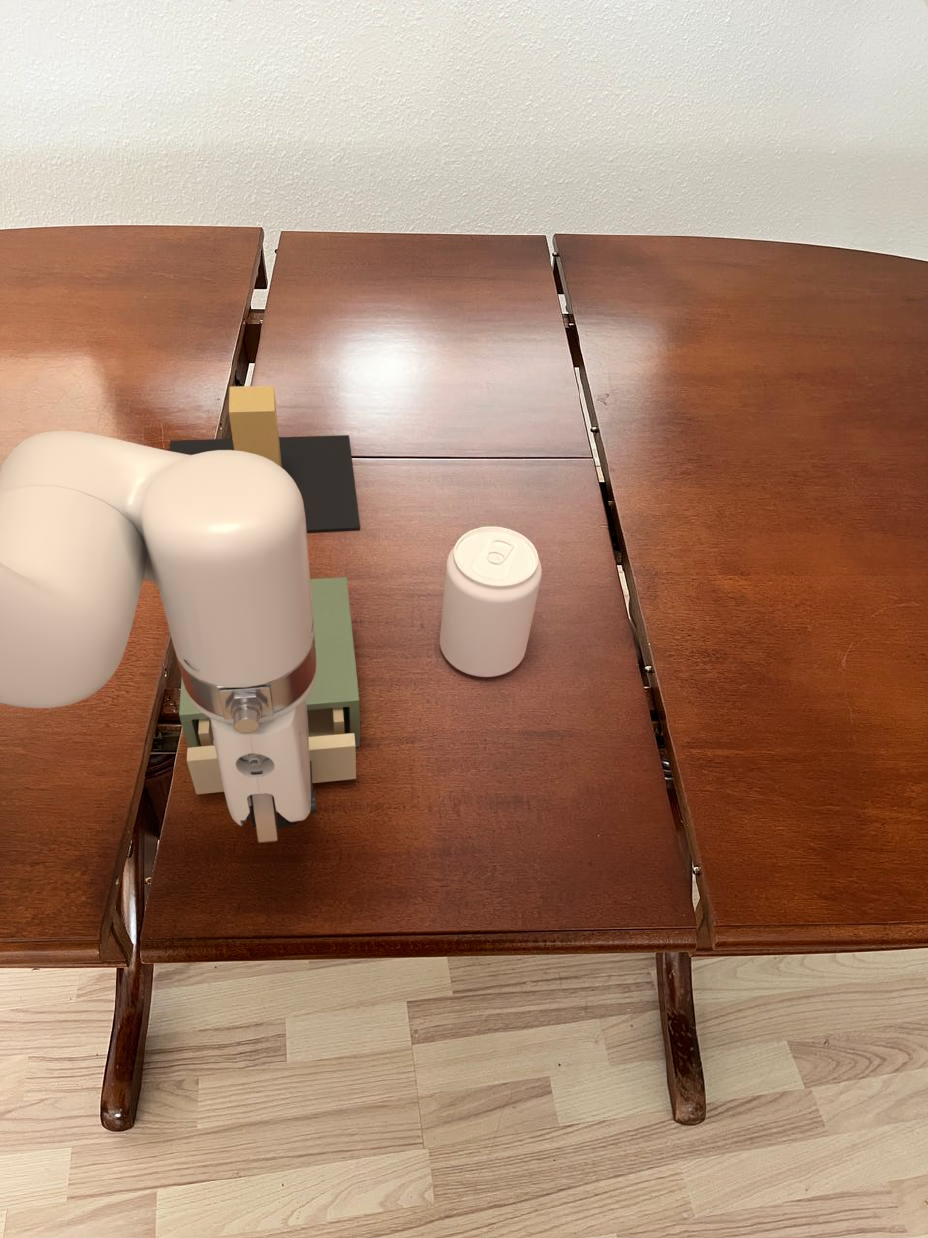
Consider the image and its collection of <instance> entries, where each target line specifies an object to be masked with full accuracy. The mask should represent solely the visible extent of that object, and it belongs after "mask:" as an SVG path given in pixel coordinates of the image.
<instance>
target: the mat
mask: <svg viewBox="0 0 928 1238" xmlns="http://www.w3.org/2000/svg"><path fill="white" fill-rule="evenodd" d="M279 443H280V454H281V464H282V468H283V469H284V470H285V471H286V472H287V473H288V474H289V475H290V476H291V478H292V479H293V480H294V482H295V483H296V485H297V487H298V489H299V491H300V493H301V496H302V499H303V504H304V511H305V518H306V531H307V534H309V533H325V532H326V533H328V532H348V531H349V532H350V531H360V530H361V523H360V515H359V506H358V498H357V491H356V482H355V475H354V464H353V457H352V449H351V441H350V435H349V434H345V435H340V434H339V435H312V436H311V435H310V436H309V435H308V436H305V435H304V436H279ZM216 450H234V445H233V438H209V439H205V438H204V439H176V440H175V439H174V440H173V439H171V440H170V441H169V450H168V451H172V452H177V453H182V454H187V455H194V454H199V453H203V452H207V451H216Z"/></svg>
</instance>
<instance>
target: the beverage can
mask: <svg viewBox="0 0 928 1238" xmlns="http://www.w3.org/2000/svg"><path fill="white" fill-rule="evenodd" d="M542 568H543V567H542V563H541V560H540V558H539V554H538V551H537V549H536V547H535V545H534V544H533V542H531V540H530V539H528V538H527V536H525V535H523V534H521V533H520V532H518V531H516V530H513V529H510V528H508V527H507V528H506V527H503V526H492V525H491V526H481V527H477V528H474V529H471V530H469V531H467V532H465V533H464V534H463V535H461V536H460V537H459V539H458V540H457V541H456V543H455V545H454V546H453V547H452V549H451V550H450V551H449V554H448V556H447V559H446V566H445V576H444V586H443V588H444V589H443V597H442V598H443V599H442V610H441V619H440V631H439V632H440V633H439V647H440V650H441V653H442V654H443V656H444V658H445V659H446V660H447V661H448V663H449V664H450V665H451V666H453V667H454V668H455V669H457V670H459V671H460V672H462V673H465V674H467V675H471V676H473V677H480V678H492V677H493V678H494V677H499V676H502V675H505V674H507V673H509V672H511V671H513V670H514V669H515V668H517V667H518V666H519V665H520V663H521V662H522V661H523V659H524V657H525V655H526V650H527V646H528V644H529V643H528V642H529V638H530V633H531V628H532V623H533V618H534V614H535V609H536V604H537V599H538V595H539V589H540V586H541V581H542V575H543V570H542Z"/></svg>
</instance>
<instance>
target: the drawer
mask: <svg viewBox="0 0 928 1238" xmlns="http://www.w3.org/2000/svg"><path fill="white" fill-rule="evenodd" d="M307 716H308V734H309V756H310V783H311V810H310V813H309V814H315V813H318V807H317V806H318V805H317V792H316V791H314V784H318V783H328V782H337V781H348V780H349V781H350V780H357V752H356V751H357V750H356V749H357V747H356V745H355V735H354V733H349V734H344V715H343V707H339V708H327V709H315V710H307ZM198 734H199V738H200V742H201V746H202V747H190V748H188V747H187V750H186V764H187V767H188V771H189V774H190V778H191V781H192V784H193V788H194V790H195V794H196V795H204V794H205V795H206V794H214V793H224V788H223V784H222V779H221V775H220V770H219V765H218V760H217V754H216V749H215V746H214V744H213V741H214V738H213V732H212V727H211V721H210V718H206V719H199V729H198ZM249 820H251V816H250V813H249V814H248V816H247V821H249Z"/></svg>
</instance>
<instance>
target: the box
mask: <svg viewBox="0 0 928 1238" xmlns="http://www.w3.org/2000/svg"><path fill="white" fill-rule="evenodd" d="M228 388H229V390H228V391H229V392H228V394H229V395H228V416H229V424H230V431H231V437H232V438H231V439H233V445H234V450H235V451H244V452H248V453H253V454H257V455H260V456H262V457H265V458H267V459H269V460H271V461H273V462H275V463H276V464H277V465H279V466H280V467H281V468H282V464H281V454H280V443H279V437H280V435H279V433H280V432H279V425H278V424H279V423H278V414H277V413H278V412H277V403H276V391H275V386H274V385H248V386H247V385H244V386H243V385H242V386H241V385H239V386H236V385H235V386H229V387H228Z"/></svg>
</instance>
